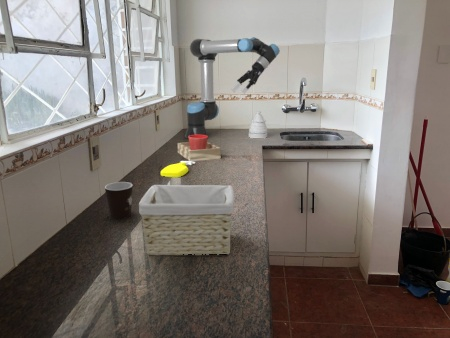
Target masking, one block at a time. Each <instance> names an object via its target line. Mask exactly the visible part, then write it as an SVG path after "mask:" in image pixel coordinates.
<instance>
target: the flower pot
mask: <svg viewBox="0 0 450 338" xmlns="http://www.w3.org/2000/svg"><path fill="white" fill-rule="evenodd" d="M188 138H189V139H188V142H189V144H190V150H201V149H206V146H207V142H208V140H209V136H208V135H207V136H206V135H190V136H188Z"/></svg>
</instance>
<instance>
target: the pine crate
mask: <svg viewBox="0 0 450 338" xmlns="http://www.w3.org/2000/svg"><path fill="white" fill-rule="evenodd" d="M177 153H178V154H179V155H180V156H182V157H183V158H184V159H186V160H187V161H192V162H198V161H209V160H218V159H221V156H222V155H221V153H222V151H221V147H220V146H217V145H215V144H213V143H212V142H209V141H207V146H206V149H201V150H190V144H189V141H188V142H177Z"/></svg>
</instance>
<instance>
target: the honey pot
mask: <svg viewBox="0 0 450 338" xmlns="http://www.w3.org/2000/svg"><path fill="white" fill-rule="evenodd" d="M261 113H262V112H261V111H260V110H259V111H256V114H255V115H254V116H253V119H251V123H250V126H249V128H248V138H249V137H250V139H253V138H264V139H267V138H268V128H267V124H266V122H267V120H266V119H264V116H263V114H261ZM266 137H267V138H266Z"/></svg>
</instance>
